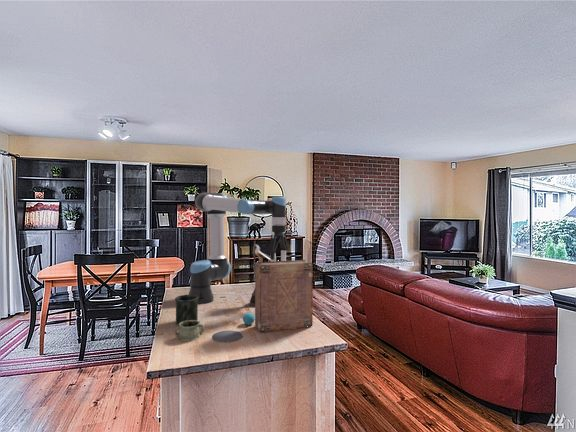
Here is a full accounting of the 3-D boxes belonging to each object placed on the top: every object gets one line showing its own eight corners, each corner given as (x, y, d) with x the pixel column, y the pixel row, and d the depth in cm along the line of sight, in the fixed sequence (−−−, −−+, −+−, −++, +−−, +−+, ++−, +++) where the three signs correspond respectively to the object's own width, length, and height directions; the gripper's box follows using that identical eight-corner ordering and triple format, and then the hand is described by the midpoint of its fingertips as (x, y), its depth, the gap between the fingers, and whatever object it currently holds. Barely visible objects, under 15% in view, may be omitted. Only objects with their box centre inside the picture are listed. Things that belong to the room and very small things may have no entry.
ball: (240, 325, 159) (240, 313, 159) (246, 321, 164) (247, 310, 164) (250, 327, 157) (250, 315, 157) (256, 323, 162) (256, 312, 162)
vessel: (203, 332, 150) (203, 318, 150) (205, 340, 141) (205, 325, 141) (174, 335, 146) (174, 321, 146) (174, 343, 137) (174, 328, 137)
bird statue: (275, 299, 205) (276, 242, 205) (279, 305, 193) (279, 244, 192) (248, 301, 202) (248, 242, 202) (249, 307, 190) (250, 244, 189)
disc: (205, 338, 142) (205, 338, 142) (224, 329, 154) (224, 328, 154) (231, 344, 137) (231, 343, 137) (248, 333, 148) (248, 333, 148)
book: (304, 320, 167) (305, 259, 167) (312, 326, 159) (313, 262, 158) (254, 326, 158) (255, 262, 158) (260, 333, 150) (260, 265, 149)
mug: (199, 318, 170) (199, 294, 170) (197, 327, 155) (197, 301, 155) (176, 319, 168) (176, 295, 167) (172, 329, 153) (172, 302, 153)
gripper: (275, 226, 173) (274, 267, 173) (293, 224, 196) (293, 261, 196) (261, 225, 176) (261, 266, 176) (281, 224, 198) (281, 260, 199)
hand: (278, 263), depth 186 cm, fingers open, 13 cm apart
